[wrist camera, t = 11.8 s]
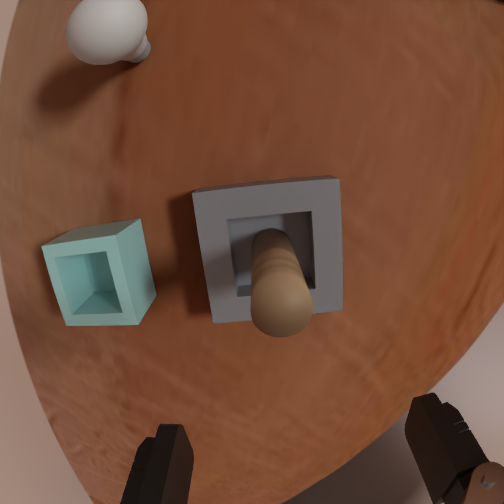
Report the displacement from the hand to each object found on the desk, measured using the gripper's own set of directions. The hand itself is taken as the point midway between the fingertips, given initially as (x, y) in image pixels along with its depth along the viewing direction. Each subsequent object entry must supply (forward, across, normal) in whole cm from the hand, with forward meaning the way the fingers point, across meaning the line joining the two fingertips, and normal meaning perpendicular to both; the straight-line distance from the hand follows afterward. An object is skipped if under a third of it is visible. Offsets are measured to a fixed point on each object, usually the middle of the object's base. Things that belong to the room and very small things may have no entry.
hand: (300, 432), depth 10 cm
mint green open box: (+22, +16, 0) cm, 27 cm away
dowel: (+21, 0, 0) cm, 21 cm away
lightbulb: (+22, +10, -20) cm, 31 cm away
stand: (+22, 0, 0) cm, 22 cm away
